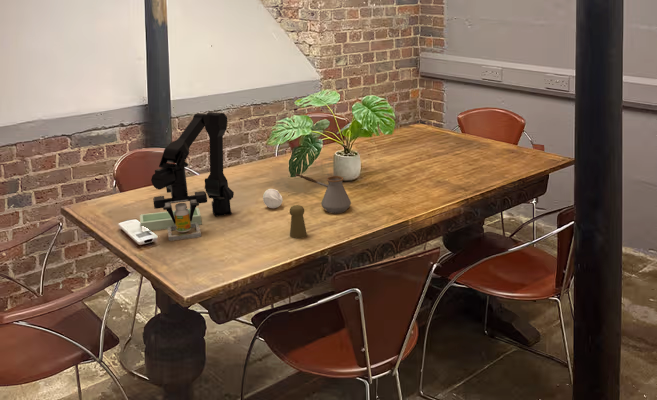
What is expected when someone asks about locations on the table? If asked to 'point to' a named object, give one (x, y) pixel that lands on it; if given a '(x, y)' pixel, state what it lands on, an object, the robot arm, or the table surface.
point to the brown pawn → (297, 222)
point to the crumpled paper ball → (272, 198)
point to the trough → (164, 220)
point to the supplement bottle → (182, 218)
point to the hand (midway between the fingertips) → (182, 222)
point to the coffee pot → (333, 194)
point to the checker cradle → (184, 236)
